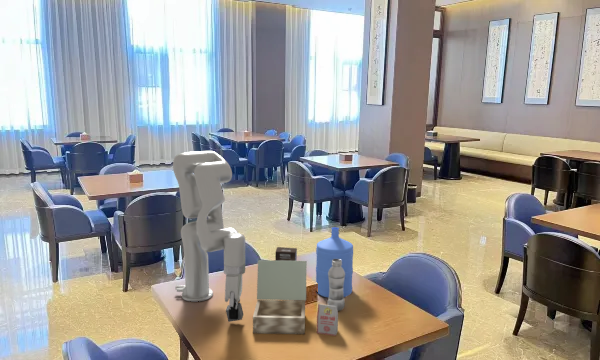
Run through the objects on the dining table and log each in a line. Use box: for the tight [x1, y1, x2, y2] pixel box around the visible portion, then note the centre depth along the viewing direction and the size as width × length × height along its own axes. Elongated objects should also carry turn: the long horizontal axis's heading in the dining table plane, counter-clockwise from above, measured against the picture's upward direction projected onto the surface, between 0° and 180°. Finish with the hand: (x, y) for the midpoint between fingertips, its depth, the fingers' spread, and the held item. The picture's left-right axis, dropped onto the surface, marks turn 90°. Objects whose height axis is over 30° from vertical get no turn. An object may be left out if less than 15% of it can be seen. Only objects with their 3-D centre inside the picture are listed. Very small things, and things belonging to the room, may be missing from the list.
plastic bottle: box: [327, 259, 346, 312], centre depth 175 cm, size 6×7×20 cm
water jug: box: [315, 226, 354, 299], centre depth 191 cm, size 16×16×28 cm
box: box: [252, 299, 306, 335], centre depth 164 cm, size 18×14×6 cm
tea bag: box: [316, 303, 339, 337], centre depth 158 cm, size 4×7×10 cm, turn 74°
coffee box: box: [274, 246, 298, 261], centre depth 199 cm, size 9×6×16 cm
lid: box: [256, 259, 308, 301], centre depth 172 cm, size 19×15×1 cm
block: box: [225, 302, 244, 323], centre depth 163 cm, size 5×4×4 cm
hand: (234, 315), depth 164 cm, fingers closed on block, 3 cm apart
